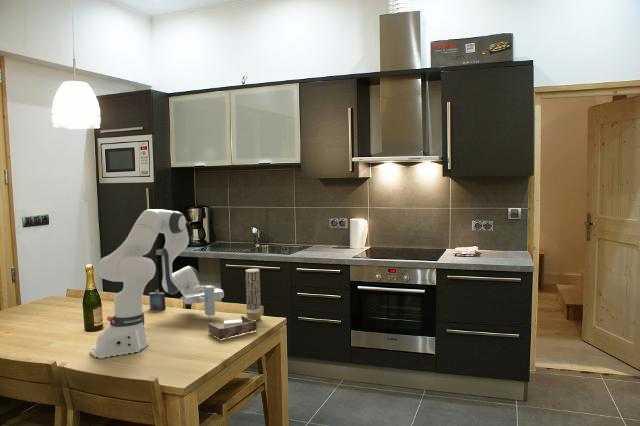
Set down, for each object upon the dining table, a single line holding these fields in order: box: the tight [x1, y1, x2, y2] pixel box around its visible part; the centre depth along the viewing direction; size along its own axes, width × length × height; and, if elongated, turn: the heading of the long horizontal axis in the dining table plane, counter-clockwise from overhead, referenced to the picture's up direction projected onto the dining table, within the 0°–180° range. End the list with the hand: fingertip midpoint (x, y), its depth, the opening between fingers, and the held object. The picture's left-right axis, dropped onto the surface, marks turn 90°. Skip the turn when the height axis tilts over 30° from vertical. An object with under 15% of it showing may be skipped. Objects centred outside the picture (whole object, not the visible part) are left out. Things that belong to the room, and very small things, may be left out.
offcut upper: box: [223, 318, 242, 328], centre depth 226 cm, size 8×4×3 cm, turn 104°
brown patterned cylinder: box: [245, 268, 262, 321], centre depth 247 cm, size 7×7×25 cm
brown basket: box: [207, 315, 257, 340], centre depth 227 cm, size 18×12×5 cm, turn 127°
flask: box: [148, 289, 166, 311], centre depth 271 cm, size 9×3×11 cm, turn 76°
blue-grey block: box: [203, 285, 216, 317], centre depth 246 cm, size 3×5×14 cm, turn 38°
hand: (210, 299), depth 245 cm, fingers closed on blue-grey block, 3 cm apart
